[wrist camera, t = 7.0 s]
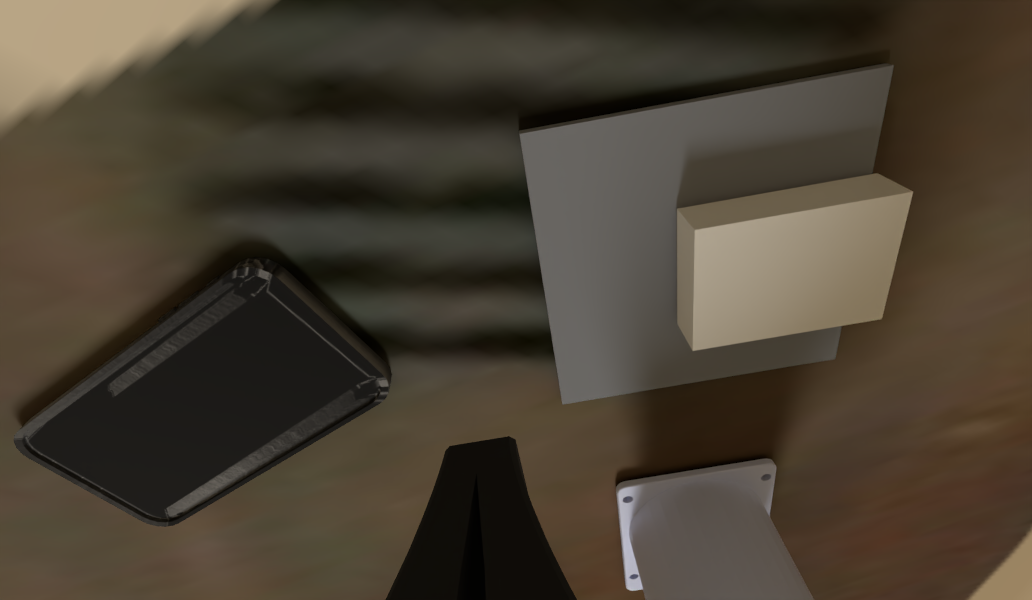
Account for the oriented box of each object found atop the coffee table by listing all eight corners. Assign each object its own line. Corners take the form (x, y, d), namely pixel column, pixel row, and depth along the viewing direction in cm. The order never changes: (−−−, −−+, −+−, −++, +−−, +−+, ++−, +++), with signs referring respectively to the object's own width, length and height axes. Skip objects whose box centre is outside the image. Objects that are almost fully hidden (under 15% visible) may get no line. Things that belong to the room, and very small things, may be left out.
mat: (830, 353, 24) (835, 358, 23) (561, 398, 24) (562, 404, 24) (885, 63, 17) (893, 65, 17) (519, 130, 18) (519, 134, 17)
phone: (400, 391, 22) (162, 533, 26) (404, 373, 23) (173, 513, 27) (250, 253, 19) (-2, 442, 22) (261, 239, 20) (17, 422, 23)
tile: (675, 320, 22) (849, 291, 21) (692, 351, 20) (881, 319, 20) (675, 206, 19) (873, 171, 19) (694, 230, 17) (912, 191, 17)
